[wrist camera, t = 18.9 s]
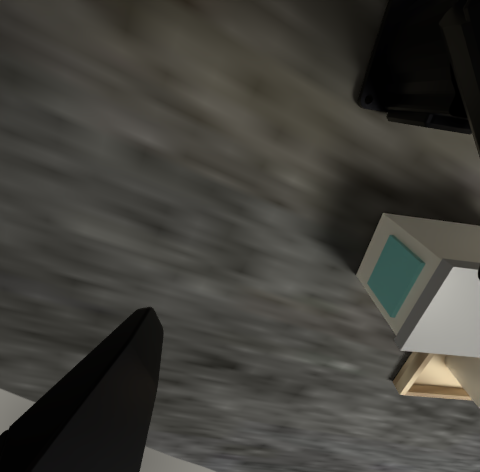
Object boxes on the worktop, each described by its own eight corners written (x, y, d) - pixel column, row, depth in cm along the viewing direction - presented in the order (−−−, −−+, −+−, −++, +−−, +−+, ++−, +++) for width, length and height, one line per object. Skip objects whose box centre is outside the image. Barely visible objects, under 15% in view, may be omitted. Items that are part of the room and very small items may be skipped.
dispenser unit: (380, 209, 20) (451, 266, 14) (493, 225, 21) (614, 286, 14) (352, 276, 23) (398, 350, 16) (451, 287, 24) (535, 362, 17)
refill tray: (445, 303, 25) (456, 314, 23) (559, 315, 26) (576, 327, 24) (392, 381, 30) (399, 394, 29) (487, 389, 31) (498, 402, 30)
